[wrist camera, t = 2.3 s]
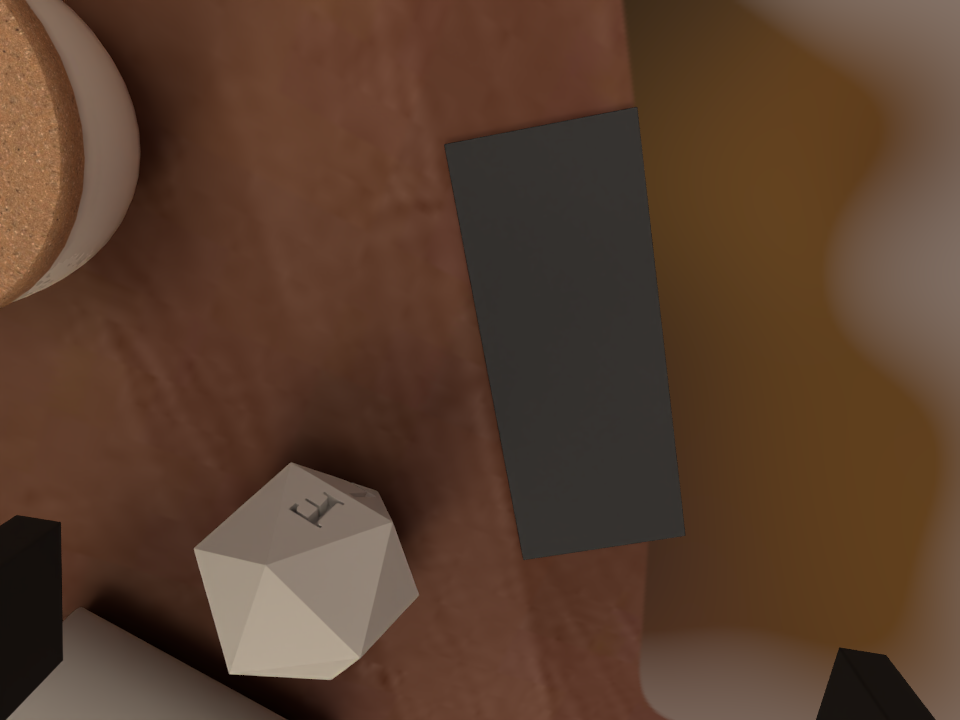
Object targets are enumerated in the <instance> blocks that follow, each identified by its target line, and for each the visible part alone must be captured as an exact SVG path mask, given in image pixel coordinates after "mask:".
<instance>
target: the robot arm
mask: <svg viewBox="0 0 960 720" xmlns="http://www.w3.org/2000/svg"><path fill="white" fill-rule="evenodd" d="M62 661H63V622H62V564H61V522H56V521H50V520H44V519H37V518H31V517H25V516H19V515H16V516H15V517H13V518H12V519H10V520H8V521H7V522H5V523H4V524H2V525H1V526H0V720H6V719H7V718H8V717H9V716H10V715H11V714H12V713H13V712H14V711H15V710H16V709H17V708H18V707H19V706H20V705H21V704H22V703H23V702H24V701H25V700H26V698H27V697H28V696H29V695H30V694H31V693H32V692H33V691H34V690H35V689H36V688H37V687H38V686H39V685H40V684H41V683H42V682H43V681H44V680H45V679H46V678H47V677H48V676H49V675H50V674H51V672H52V671H53V670H54V669H55V668H56V667H57V666H58V665H59V664H60V663H61V662H62ZM816 720H935V718H934V717H933V716H932V714H931V713H930V712H929V711H928V709H927V708H926V707H925V705H924V704H923V703H922V702H921V700H920V699H919V698H918V696H917V695H916V694H915V692H914V691H913V690H912V688H911V687H910V686H909V684H908V683H907V682H906V680H905V679H904V678H903V677H902V675H901V674H900V673H899V671H898V670H897V669H896V668H895V666H894V665H893V664H892V662H891V661H890V660H889V658H888V657H887V656H886V655H882V654H876V653H870V652H864V651H857V650H851V649H845V648H839V650H838V653H837V656H836V659H835V662H834V666H833V669H832V672H831V675H830V679H829V681H828V684H827V688H826V690H825V693H824V697H823V700H822V703H821V706H820V709H819V712H818V715H817V718H816Z"/></svg>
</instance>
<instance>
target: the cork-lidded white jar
mask: <svg viewBox="0 0 960 720" xmlns="http://www.w3.org/2000/svg"><path fill="white" fill-rule="evenodd" d="M140 155H141V153H140V137H139V128H138V124H137V119H136V114H135V110H134V106H133V103H132V100H131V98H130V95H129V92H128V89H127V87H126V84H125V82H124V80H123V78H122V76H121V74H120V73H119V71H118V69H117V67H116V65H115V63H114V61H113V60H112V58H111V57H110V55H109V54H108V52H107V51H106V49H105V48H104V47H103V45H102V44H101V42H100V41H99V40H98V38H97V37H96V35H95V34H94V32H93V31H92V30H91V29H90V28H89V27H88V26H87V24H86V23H85V22H84V21H83V20H82V19H81V18H80V17H79V16H78V15H77V14H76V13H75V12H74V10H73V9H71V8H70V7H69V6H68V5H67V4H65V3H64V2H63V1H62V0H0V308H2V307H4V306H6V305H8V304H10V303H12V302H15V301H17V300H20V299H22V298H25V297H27V296H30V295H32V294H34V293H36V292H39V291H41V290H43V289H45V288H47V287H50V286H51V285H53V284H55V283H57V282H58V281H60V280H62V279H64V278H65V277H67V276H68V275H70V274H71V273H73V272H74V271H75V270H77V269H78V268H80V267H81V266H83V265H84V264H85V263H86V262H88V261H89V260H90V259H91V258H92V257H93V256H95V255H96V254H97V253H98V251H99V250H100V249H101V248H102V247H103V246H104V245H105V244H106V243H107V242H108V241H109V240H110V239H111V237H112V236H113V234H114V233H115V231H116V230H117V228H118V227H119V226H120V224H121V223H122V221H123V219H124V217H125V215H126V212H127V210H128V208H129V206H130V203H131V201H132V199H133V196H134V192H135V189H136V185H137V181H138V177H139V166H140Z"/></svg>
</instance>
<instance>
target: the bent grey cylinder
mask: <svg viewBox="0 0 960 720" xmlns="http://www.w3.org/2000/svg"><path fill="white" fill-rule="evenodd" d="M6 720H287V719H285V718H283V717H282V716H280V715H278V714H276V713H274V712H272V711H271V710H269V709H267V708H265V707H263V706H262V705H260V704H258V703H256V702H254V701H252V700H251V699H249V698H247V697H245V696H243V695H241V694H240V693H238V692H236V691H234V690H232V689H230V688H229V687H227V686H225V685H223V684H221V683H220V682H218V681H216V680H214V679H212V678H210V677H209V676H207V675H205V674H203V673H201V672H199V671H198V670H196V669H194V668H192V667H190V666H189V665H187V664H185V663H183V662H181V661H179V660H178V659H176V658H174V657H172V656H170V655H168V654H167V653H165V652H163V651H161V650H159V649H158V648H156V647H154V646H152V645H150V644H148V643H147V642H145V641H143V640H141V639H139V638H137V637H136V636H134V635H132V634H130V633H128V632H126V631H125V630H123V629H121V628H119V627H117V626H116V625H114V624H112V623H110V622H108V621H106V620H105V619H103V618H101V617H99V616H97V615H95V614H94V613H92V612H90V611H88V610H86V609H85V608H83V607H80V608H78V609H76V610H75V611H74V612H72V613H71V614H70V615H69V616H68V617H67V618H66V619H65V620H64V621H63V661H62V662H61V663H60V664H59V665H58V666H57V667H56V668H55V669H54V670H53V671H52V672H51V674H50V675H49V676H48V677H47V678H46V679H45V680H44V681H43V682H42V683H41V684H40V685H39V686H38V687H37V688H36V689H35V690H34V691H33V692H32V693H31V694H30V695H29V696H28V697H27V698H26V700H25V701H24V702H23V703H22V704H21V705H20V706H19V707H18V708H17V709H16V710H15V711H14V712H13V713H12V714H11V715H10V716H9V717H8V718H7V719H6Z"/></svg>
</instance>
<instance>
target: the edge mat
mask: <svg viewBox="0 0 960 720" xmlns="http://www.w3.org/2000/svg"><path fill="white" fill-rule="evenodd" d="M444 146H445V151H446V156H447V161H448V167H449V172H450V177H451V182H452V188H453V193H454V198H455V203H456V209H457V214H458V219H459V224H460V230H461V235H462V240H463V245H464V251H465V256H466V261H467V266H468V272H469V277H470V282H471V287H472V293H473V298H474V303H475V308H476V313H477V319H478V324H479V329H480V334H481V340H482V345H483V350H484V355H485V361H486V366H487V371H488V376H489V382H490V387H491V392H492V397H493V403H494V408H495V413H496V418H497V424H498V429H499V434H500V439H501V445H502V450H503V455H504V460H505V466H506V471H507V476H508V481H509V487H510V492H511V497H512V502H513V508H514V513H515V518H516V523H517V529H518V534H519V539H520V544H521V550H522V555H523V560H527V559H533V558H540V557H547V556H553V555H560V554H567V553H573V552H580V551H587V550H594V549H600V548H607V547H614V546H620V545H627V544H634V543H640V542H647V541H654V540H660V539H667V538H674V537H680V536H685V528H684V519H683V509H682V501H681V492H680V483H679V475H678V465H677V456H676V447H675V438H674V430H673V422H672V412H671V403H670V394H669V386H668V376H667V368H666V359H665V350H664V341H663V332H662V324H661V315H660V305H659V296H658V287H657V278H656V270H655V261H654V252H653V243H652V234H651V225H650V217H649V207H648V198H647V190H646V181H645V172H644V163H643V154H642V145H641V136H640V127H639V118H638V110H637V107H634V108H629V109H624V110H619V111H614V112H609V113H603V114H598V115H593V116H588V117H583V118H578V119H573V120H567V121H562V122H557V123H552V124H547V125H542V126H537V127H531V128H526V129H521V130H516V131H511V132H506V133H501V134H496V135H490V136H485V137H480V138H475V139H470V140H465V141H460V142H454V143H449V144H445V145H444Z"/></svg>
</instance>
